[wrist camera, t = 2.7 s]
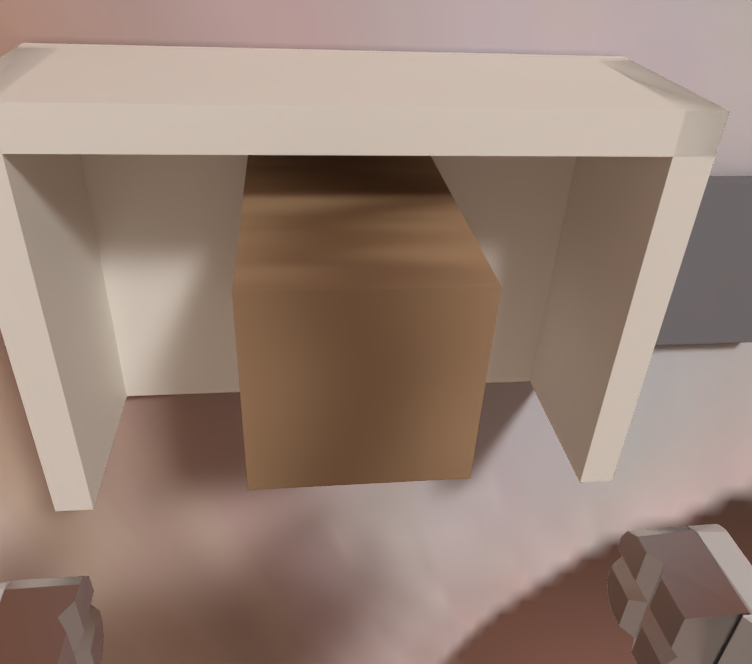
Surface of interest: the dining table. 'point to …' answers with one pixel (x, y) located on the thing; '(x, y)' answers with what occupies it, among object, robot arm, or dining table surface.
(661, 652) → the robot arm
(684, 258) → the coaster
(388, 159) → the block
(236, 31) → the dining table surface
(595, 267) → the box
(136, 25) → the dining table surface
